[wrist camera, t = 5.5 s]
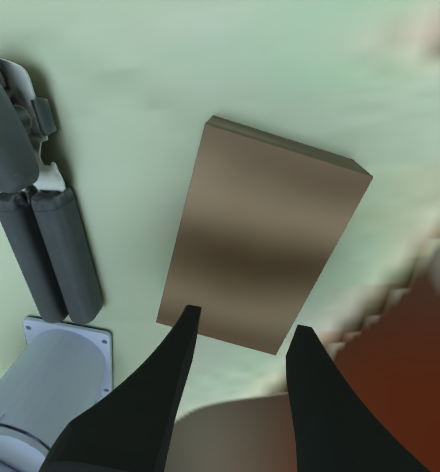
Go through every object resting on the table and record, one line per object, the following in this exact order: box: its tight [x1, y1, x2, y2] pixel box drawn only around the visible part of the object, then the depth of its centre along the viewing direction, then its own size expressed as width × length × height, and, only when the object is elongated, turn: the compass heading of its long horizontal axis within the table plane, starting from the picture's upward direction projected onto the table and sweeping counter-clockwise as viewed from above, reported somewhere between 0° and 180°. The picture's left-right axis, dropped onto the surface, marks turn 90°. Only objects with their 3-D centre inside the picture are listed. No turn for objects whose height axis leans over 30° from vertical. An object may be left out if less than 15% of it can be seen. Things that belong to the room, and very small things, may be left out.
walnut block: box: [156, 116, 373, 355], centre depth 20 cm, size 14×9×4 cm, turn 164°
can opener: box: [0, 58, 103, 324], centre depth 20 cm, size 19×5×6 cm, turn 2°
